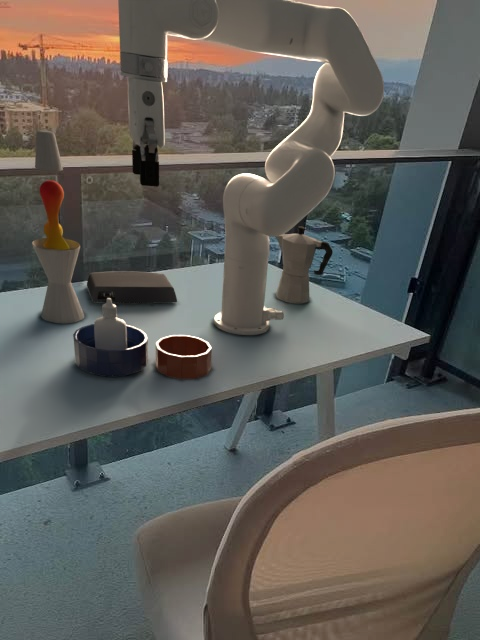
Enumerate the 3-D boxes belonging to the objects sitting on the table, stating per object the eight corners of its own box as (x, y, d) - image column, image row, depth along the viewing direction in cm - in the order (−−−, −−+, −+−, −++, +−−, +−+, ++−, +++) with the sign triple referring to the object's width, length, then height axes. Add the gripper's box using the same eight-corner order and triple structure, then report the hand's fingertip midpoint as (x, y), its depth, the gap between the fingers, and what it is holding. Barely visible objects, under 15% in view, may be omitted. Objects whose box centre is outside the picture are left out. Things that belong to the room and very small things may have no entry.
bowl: (142, 348, 124) (141, 322, 121) (152, 377, 115) (152, 350, 112) (73, 350, 120) (71, 323, 117) (78, 380, 110) (75, 351, 107)
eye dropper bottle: (106, 353, 119) (102, 291, 112) (131, 360, 118) (129, 299, 111) (92, 360, 116) (87, 297, 109) (118, 368, 115) (115, 305, 108)
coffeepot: (263, 296, 160) (269, 224, 150) (275, 287, 168) (282, 218, 158) (319, 310, 158) (329, 237, 147) (329, 300, 165) (340, 230, 155)
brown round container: (203, 355, 126) (204, 334, 123) (215, 378, 118) (216, 356, 116) (152, 356, 122) (152, 335, 120) (161, 380, 114) (161, 357, 112)
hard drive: (86, 286, 149) (85, 269, 147) (166, 286, 157) (167, 270, 154) (92, 305, 140) (91, 287, 137) (178, 305, 147) (178, 288, 145)
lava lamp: (90, 321, 132) (78, 137, 112) (46, 325, 127) (25, 133, 108) (78, 306, 138) (64, 129, 118) (35, 309, 133) (13, 125, 114)
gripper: (176, 75, 98) (175, 192, 108) (158, 67, 111) (158, 172, 120) (127, 68, 95) (130, 188, 105) (114, 61, 108) (118, 169, 118)
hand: (145, 179), depth 113 cm, fingers open, 9 cm apart
